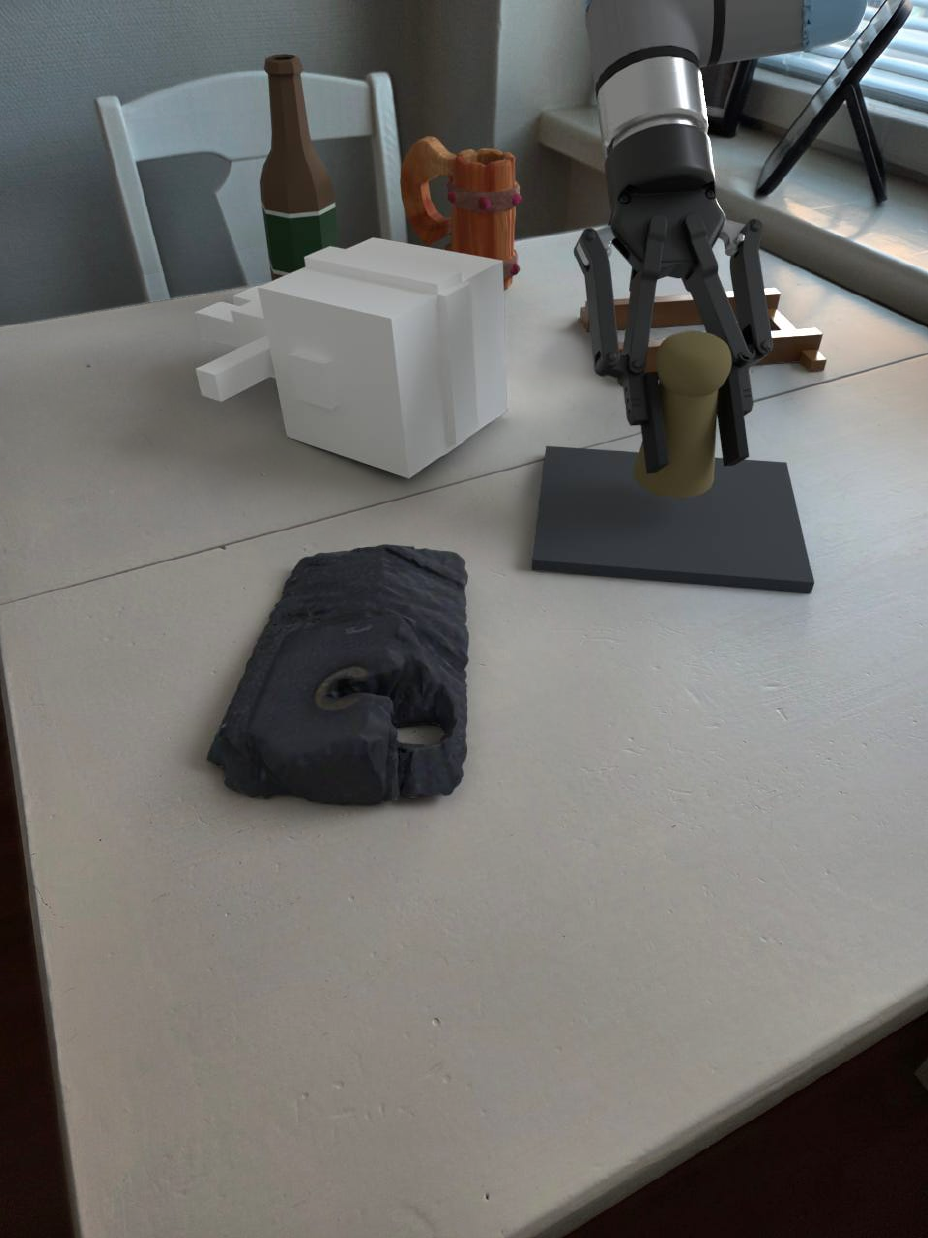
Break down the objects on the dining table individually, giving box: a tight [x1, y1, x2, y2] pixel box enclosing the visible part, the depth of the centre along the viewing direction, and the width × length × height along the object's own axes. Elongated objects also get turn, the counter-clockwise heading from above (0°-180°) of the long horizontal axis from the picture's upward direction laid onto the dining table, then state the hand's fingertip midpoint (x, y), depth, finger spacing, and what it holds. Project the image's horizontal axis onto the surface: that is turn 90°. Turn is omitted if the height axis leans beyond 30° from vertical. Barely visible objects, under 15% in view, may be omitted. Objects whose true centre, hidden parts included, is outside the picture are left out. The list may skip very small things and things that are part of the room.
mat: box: [530, 445, 815, 594], centre depth 74 cm, size 20×16×1 cm
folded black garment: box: [205, 543, 470, 807], centre depth 60 cm, size 15×22×5 cm
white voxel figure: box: [195, 236, 509, 479], centre depth 83 cm, size 15×25×28 cm
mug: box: [399, 135, 523, 291], centre depth 104 cm, size 15×8×15 cm, turn 59°
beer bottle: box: [259, 53, 340, 281], centre depth 97 cm, size 8×8×24 cm
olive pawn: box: [633, 330, 732, 498], centre depth 68 cm, size 6×6×11 cm
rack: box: [579, 287, 828, 374], centre depth 97 cm, size 16×21×3 cm
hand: (697, 464), depth 67 cm, fingers closed on olive pawn, 5 cm apart
